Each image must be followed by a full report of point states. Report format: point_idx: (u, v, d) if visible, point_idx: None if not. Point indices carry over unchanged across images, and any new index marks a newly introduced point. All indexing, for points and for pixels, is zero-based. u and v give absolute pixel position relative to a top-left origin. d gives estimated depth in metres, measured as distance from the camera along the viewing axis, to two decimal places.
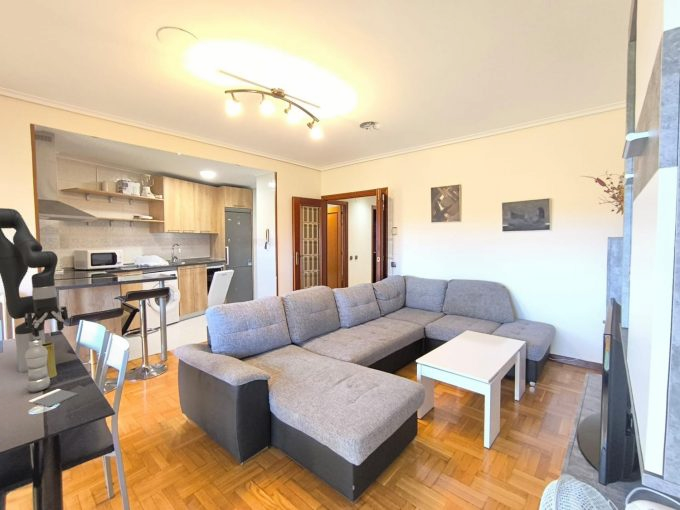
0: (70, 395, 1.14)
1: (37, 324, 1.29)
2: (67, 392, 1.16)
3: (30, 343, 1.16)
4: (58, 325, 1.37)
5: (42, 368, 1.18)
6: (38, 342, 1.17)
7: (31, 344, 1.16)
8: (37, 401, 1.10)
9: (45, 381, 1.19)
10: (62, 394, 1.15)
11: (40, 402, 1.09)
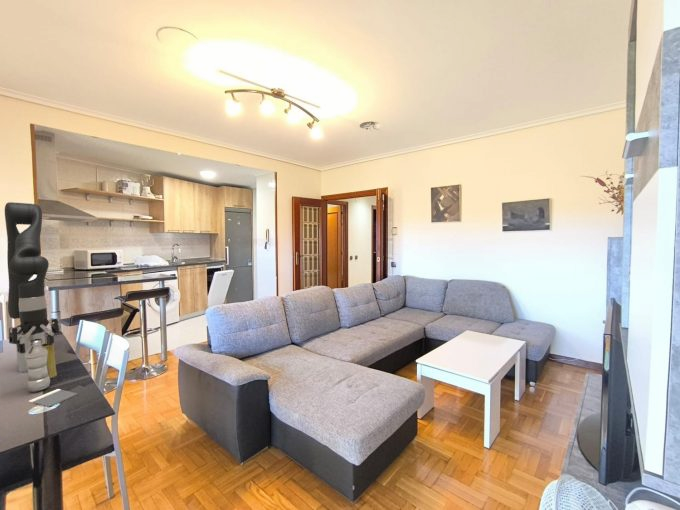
0: (70, 395, 1.14)
1: (23, 339, 1.14)
2: (67, 392, 1.16)
3: (30, 343, 1.16)
4: (48, 339, 1.22)
5: (42, 368, 1.18)
6: (38, 342, 1.17)
7: (31, 344, 1.16)
8: (37, 401, 1.10)
9: (45, 381, 1.19)
10: (62, 394, 1.15)
11: (40, 402, 1.09)
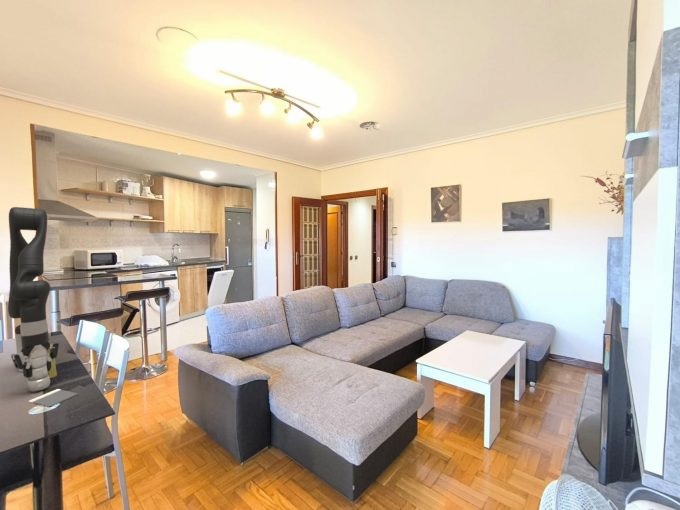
0: (70, 395, 1.14)
1: (28, 364, 1.15)
2: (67, 392, 1.16)
3: None
4: None
5: (42, 368, 1.18)
6: None
7: None
8: (37, 401, 1.10)
9: (45, 381, 1.19)
10: (62, 394, 1.15)
11: (40, 402, 1.09)
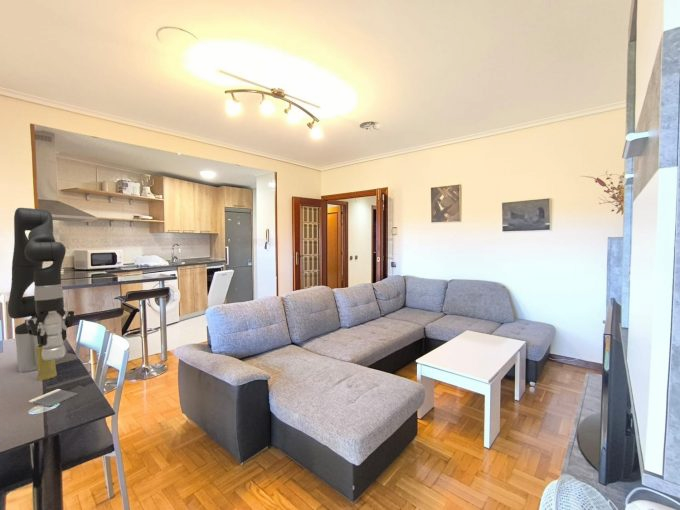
0: (70, 395, 1.14)
1: (43, 331, 1.07)
2: (67, 392, 1.16)
3: None
4: None
5: (57, 336, 1.10)
6: None
7: None
8: (37, 401, 1.10)
9: (60, 350, 1.11)
10: (62, 394, 1.15)
11: (40, 402, 1.09)
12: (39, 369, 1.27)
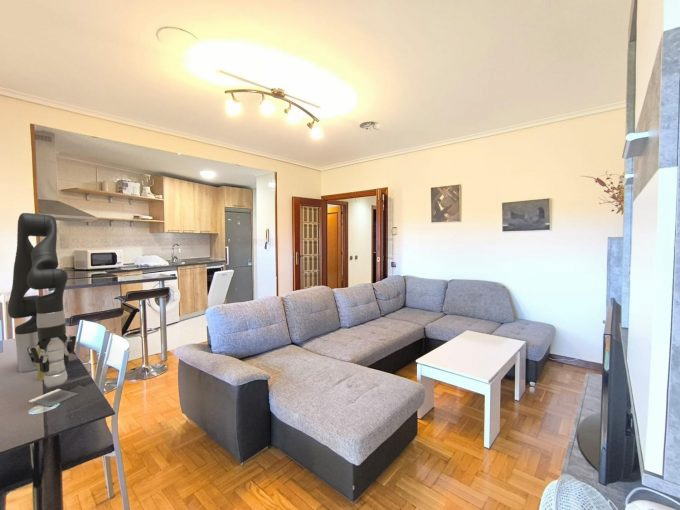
0: (70, 395, 1.14)
1: (45, 358, 1.08)
2: (67, 392, 1.16)
3: None
4: None
5: (59, 362, 1.11)
6: None
7: None
8: (37, 401, 1.10)
9: (62, 376, 1.11)
10: (62, 394, 1.15)
11: (40, 402, 1.09)
12: (39, 369, 1.27)
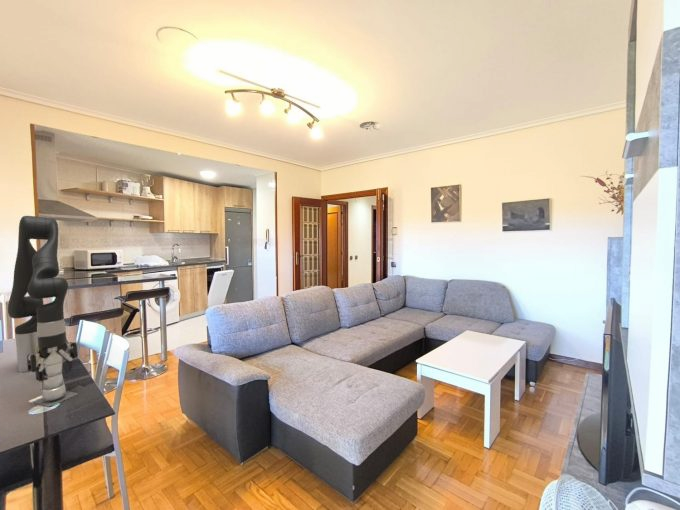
0: (70, 395, 1.14)
1: (42, 367, 1.07)
2: (67, 392, 1.16)
3: None
4: (66, 365, 1.15)
5: (57, 376, 1.10)
6: (53, 348, 1.10)
7: None
8: (37, 401, 1.10)
9: (60, 390, 1.11)
10: None
11: (40, 402, 1.09)
12: None
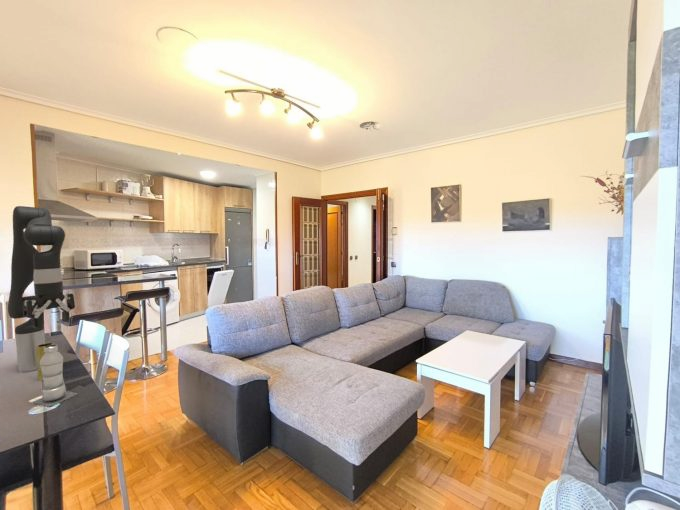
0: (70, 395, 1.14)
1: (38, 314, 1.06)
2: (67, 392, 1.16)
3: (45, 349, 1.09)
4: (63, 315, 1.15)
5: (57, 376, 1.10)
6: (53, 348, 1.10)
7: (46, 350, 1.09)
8: (37, 401, 1.10)
9: (60, 390, 1.11)
10: None
11: (40, 402, 1.09)
12: (39, 369, 1.27)
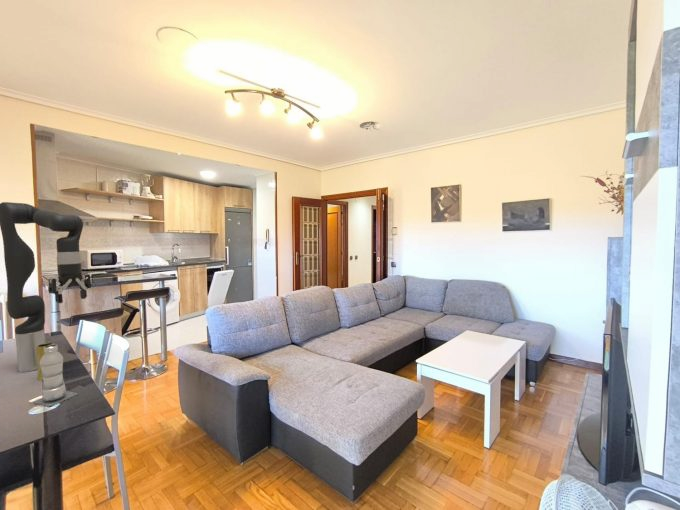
0: (70, 395, 1.14)
1: (61, 290, 1.23)
2: (67, 392, 1.16)
3: (45, 349, 1.09)
4: (81, 293, 1.32)
5: (57, 376, 1.10)
6: (53, 348, 1.10)
7: (46, 350, 1.09)
8: (37, 401, 1.10)
9: (60, 390, 1.11)
10: None
11: (40, 402, 1.09)
12: (39, 369, 1.27)
